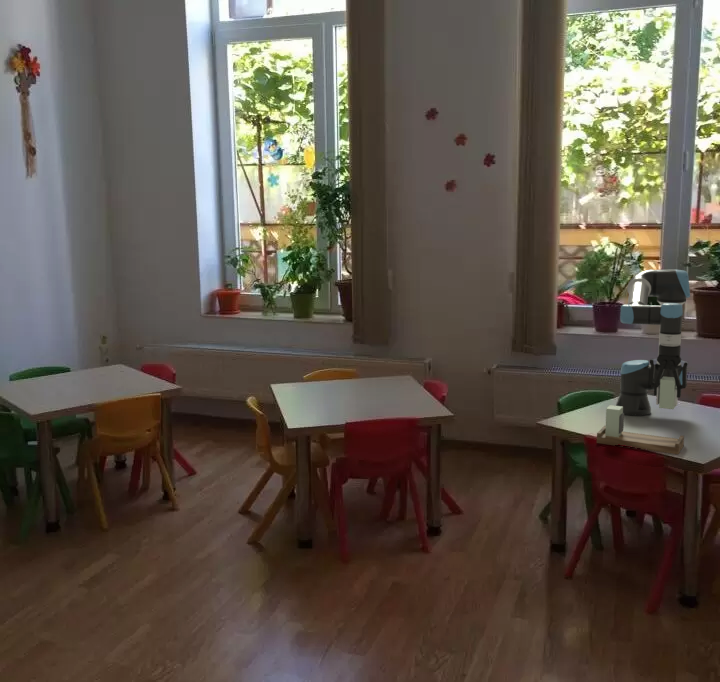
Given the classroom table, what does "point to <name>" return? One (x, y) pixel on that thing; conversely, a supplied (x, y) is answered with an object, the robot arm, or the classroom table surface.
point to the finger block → (666, 392)
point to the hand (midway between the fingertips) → (666, 404)
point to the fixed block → (614, 421)
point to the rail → (643, 441)
